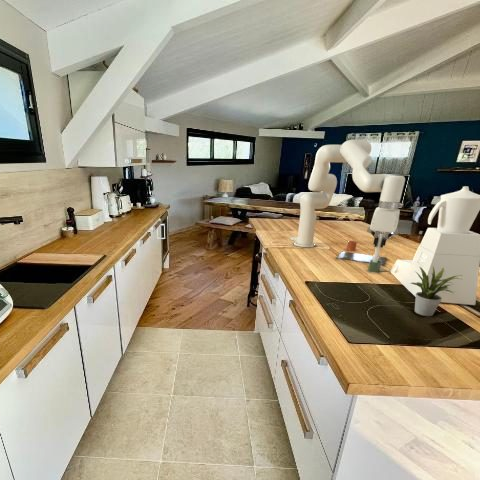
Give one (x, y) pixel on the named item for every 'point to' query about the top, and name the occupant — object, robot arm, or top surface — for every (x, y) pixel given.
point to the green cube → (374, 266)
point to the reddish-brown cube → (351, 245)
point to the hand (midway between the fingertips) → (378, 246)
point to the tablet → (359, 257)
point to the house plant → (430, 292)
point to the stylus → (378, 248)
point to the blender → (448, 250)
